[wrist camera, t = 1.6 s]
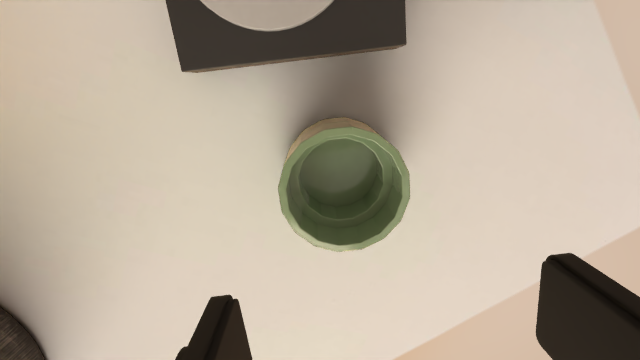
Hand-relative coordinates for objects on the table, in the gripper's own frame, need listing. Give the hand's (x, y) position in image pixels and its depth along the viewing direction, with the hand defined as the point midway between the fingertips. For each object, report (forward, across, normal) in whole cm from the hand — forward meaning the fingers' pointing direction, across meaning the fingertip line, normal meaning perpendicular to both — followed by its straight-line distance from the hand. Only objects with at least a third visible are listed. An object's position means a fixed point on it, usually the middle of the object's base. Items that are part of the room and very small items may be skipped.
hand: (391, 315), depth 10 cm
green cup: (+14, 0, -1) cm, 14 cm away
